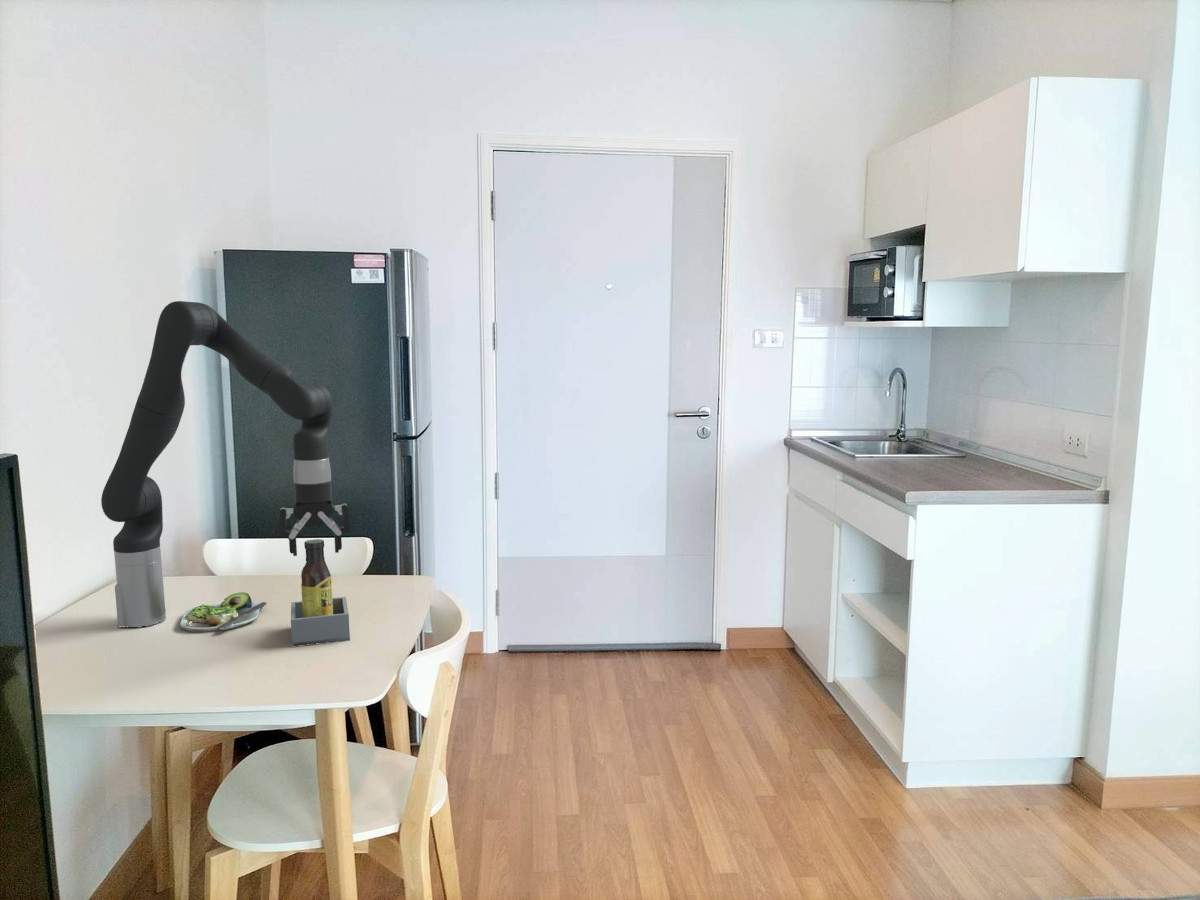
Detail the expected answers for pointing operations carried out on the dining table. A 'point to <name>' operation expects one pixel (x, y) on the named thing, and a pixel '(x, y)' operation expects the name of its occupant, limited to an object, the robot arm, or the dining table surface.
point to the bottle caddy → (320, 624)
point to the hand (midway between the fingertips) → (316, 553)
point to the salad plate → (223, 614)
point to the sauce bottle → (316, 581)
